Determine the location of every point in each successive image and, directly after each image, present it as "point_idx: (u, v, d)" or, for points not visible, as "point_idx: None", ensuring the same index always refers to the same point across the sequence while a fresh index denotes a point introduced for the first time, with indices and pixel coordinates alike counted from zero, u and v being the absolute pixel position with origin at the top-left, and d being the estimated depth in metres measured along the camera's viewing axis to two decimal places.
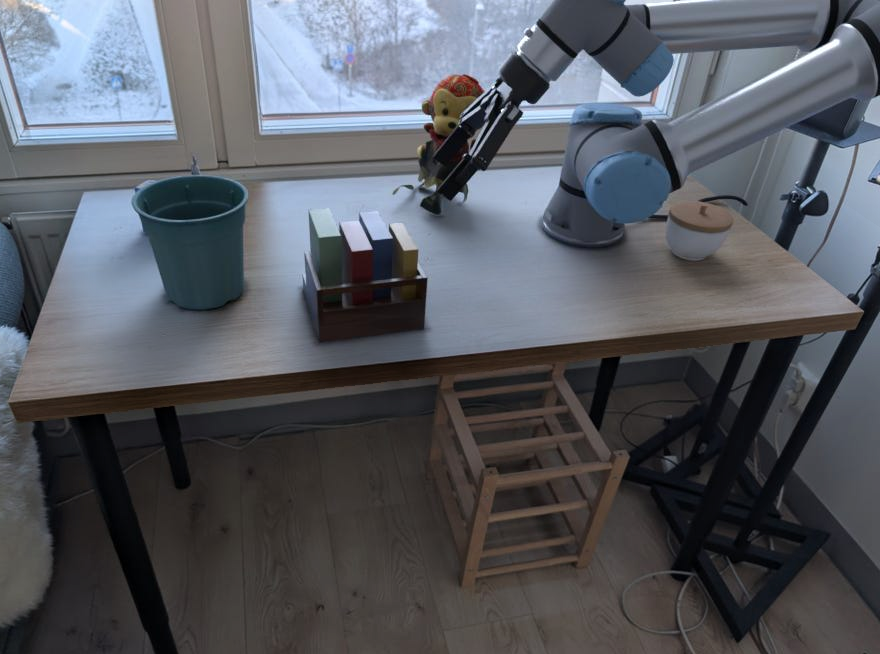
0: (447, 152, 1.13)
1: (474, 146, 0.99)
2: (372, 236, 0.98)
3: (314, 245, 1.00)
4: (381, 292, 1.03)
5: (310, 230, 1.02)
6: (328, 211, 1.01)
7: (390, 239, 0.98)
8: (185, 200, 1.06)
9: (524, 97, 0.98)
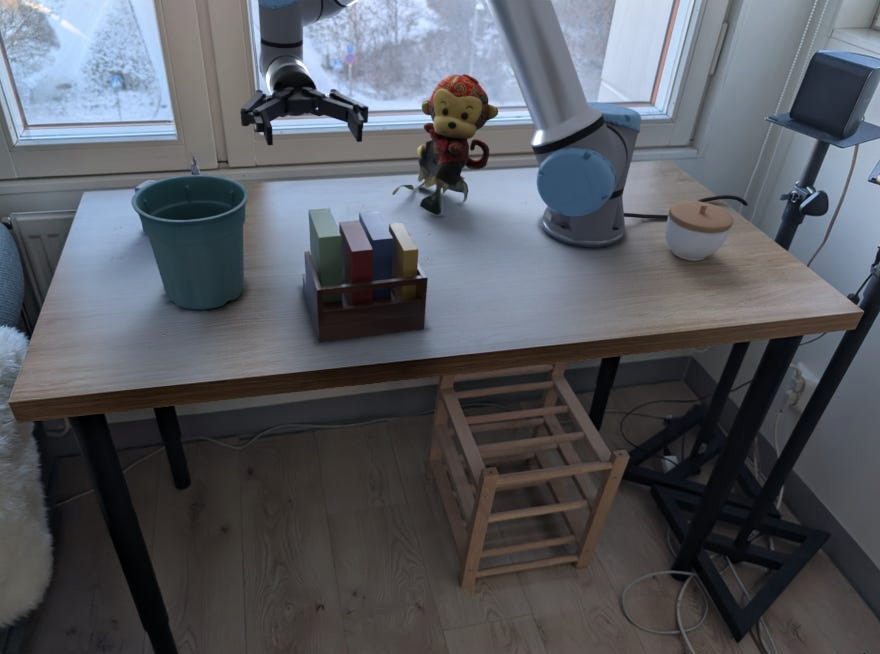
0: (354, 127, 1.05)
1: None
2: (372, 236, 0.98)
3: (314, 245, 1.00)
4: (381, 292, 1.03)
5: (310, 230, 1.02)
6: (328, 211, 1.01)
7: (390, 239, 0.98)
8: (185, 200, 1.06)
9: (273, 89, 1.13)
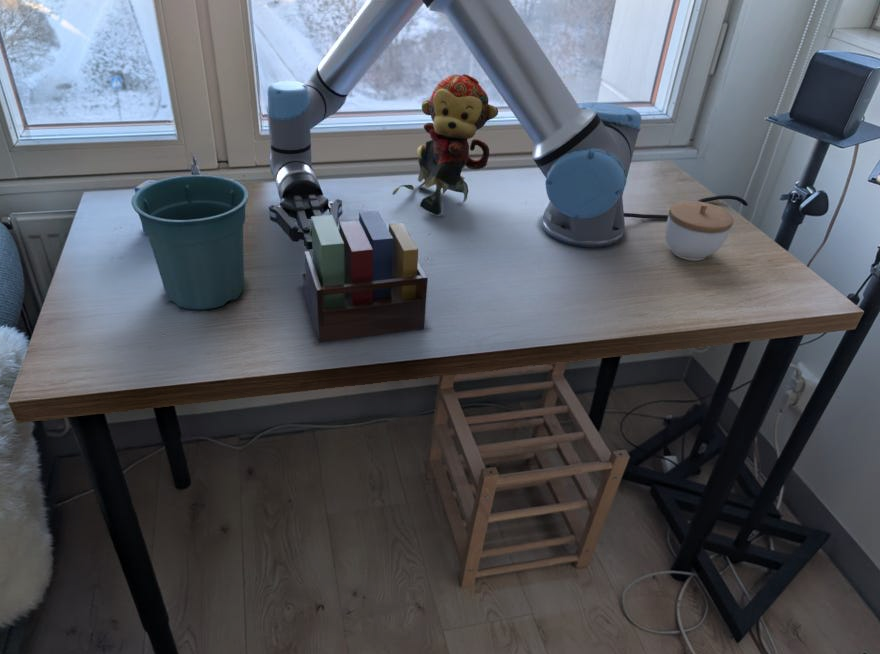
0: None
1: None
2: (372, 236, 0.98)
3: (316, 253, 0.99)
4: (381, 292, 1.03)
5: (312, 237, 1.01)
6: (330, 218, 0.99)
7: (390, 239, 0.98)
8: (185, 200, 1.06)
9: (281, 197, 1.18)
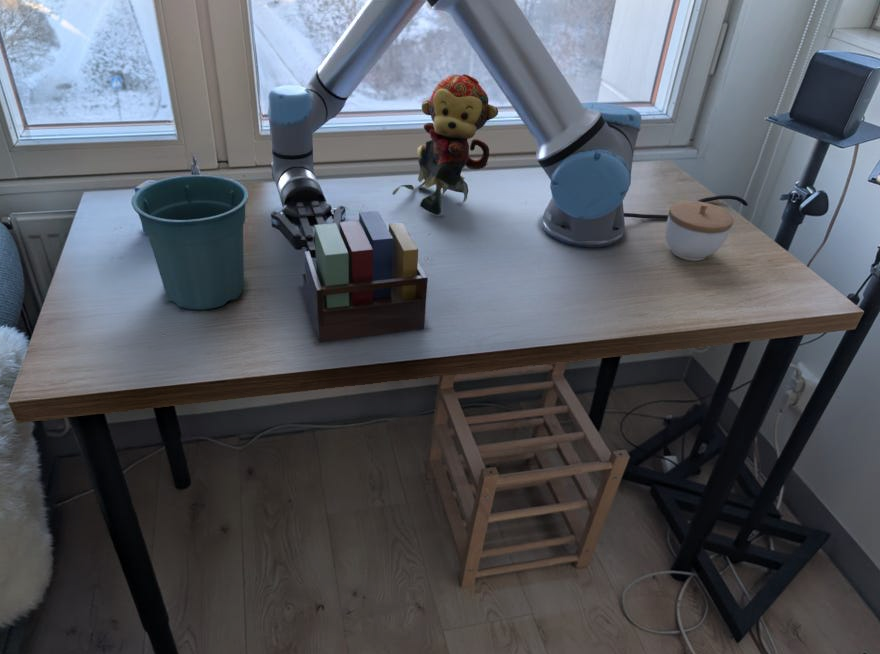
0: None
1: None
2: (372, 236, 0.98)
3: (320, 262, 0.97)
4: (381, 292, 1.03)
5: (316, 246, 0.99)
6: (334, 227, 0.97)
7: (390, 239, 0.98)
8: (185, 200, 1.06)
9: (283, 204, 1.16)
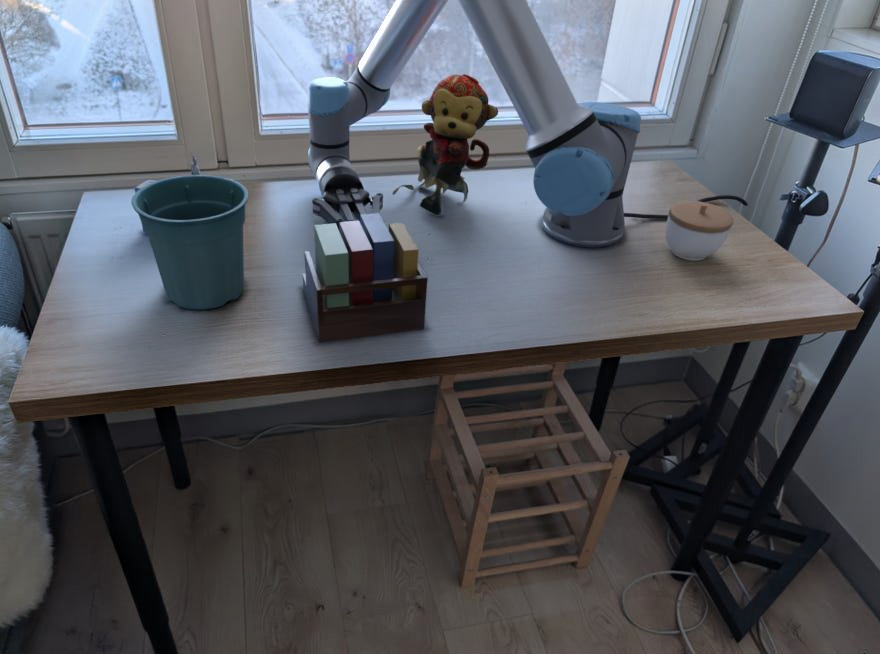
0: None
1: None
2: (373, 238, 0.97)
3: (320, 262, 0.97)
4: (382, 295, 1.02)
5: (316, 246, 0.99)
6: (334, 227, 0.97)
7: (391, 241, 0.97)
8: (185, 200, 1.06)
9: (323, 191, 1.21)
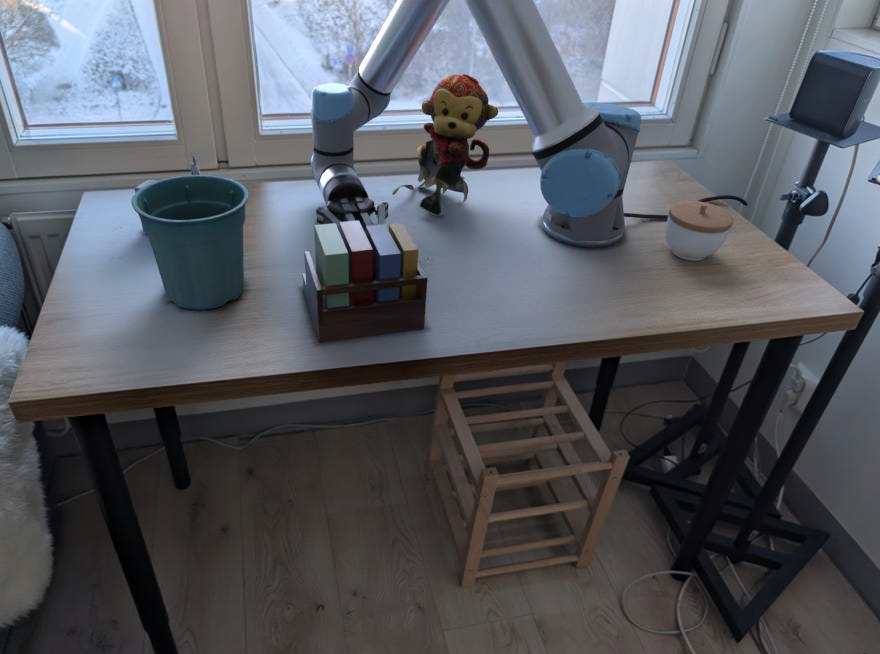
0: None
1: None
2: (379, 251, 0.94)
3: (320, 262, 0.97)
4: None
5: (316, 246, 0.99)
6: (334, 227, 0.97)
7: (398, 254, 0.94)
8: (185, 200, 1.06)
9: (327, 200, 1.18)
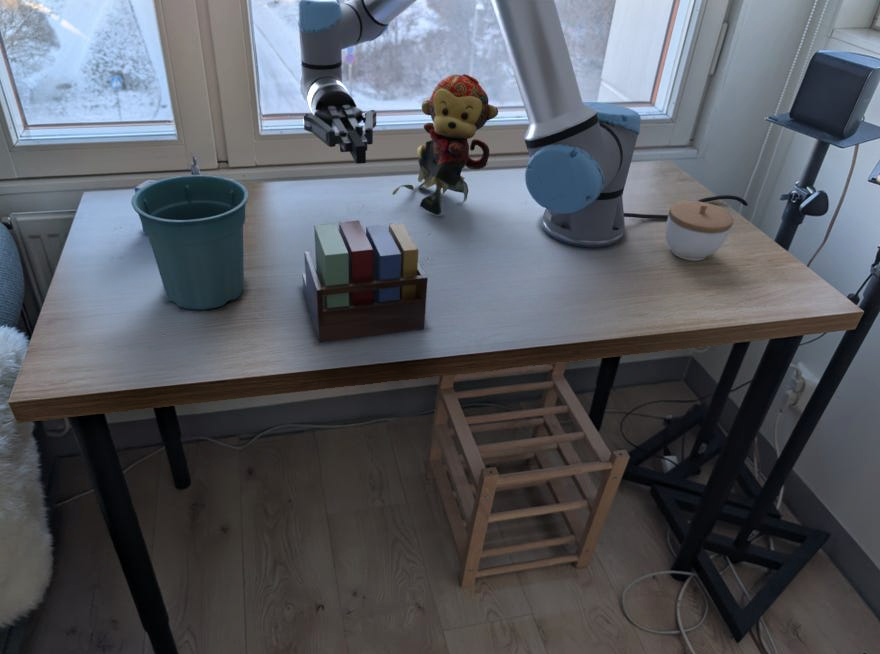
0: None
1: None
2: (380, 252, 0.94)
3: (320, 262, 0.97)
4: None
5: (316, 246, 0.99)
6: (334, 227, 0.97)
7: (398, 255, 0.94)
8: (185, 200, 1.06)
9: (315, 109, 1.18)
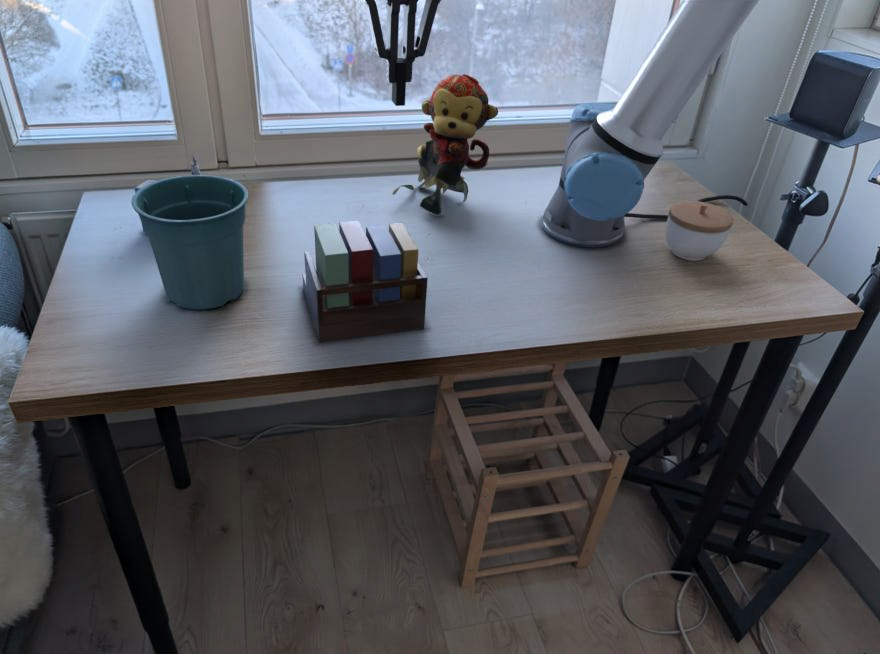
0: None
1: None
2: (380, 252, 0.94)
3: (320, 262, 0.97)
4: None
5: (316, 246, 0.99)
6: (334, 227, 0.97)
7: (398, 255, 0.94)
8: (185, 200, 1.06)
9: None
